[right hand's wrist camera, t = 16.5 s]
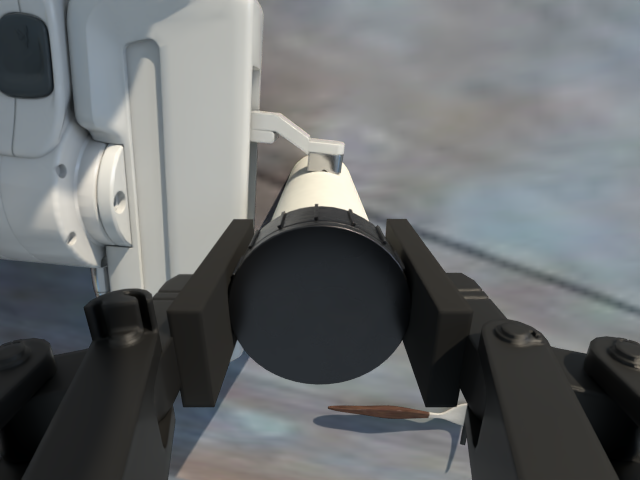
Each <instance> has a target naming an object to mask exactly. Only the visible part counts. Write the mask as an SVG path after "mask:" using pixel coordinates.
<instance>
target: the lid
mask: <svg viewBox="0 0 640 480" xmlns="http://www.w3.org/2000/svg"><path fill="white" fill-rule="evenodd" d="M405 271H406V269H405V267H404V265H403V263H402V261H401V259H400V257H399V255H398V253H397V251H396V250H395V251H393V249H392V247H391V245H390V244H389V242H388V240H387V239H386V237H385V236H384V235H383V233H382V231H381V229H380V227H379V226H378V225H377V226H376V227H375V226H374V225H373V224H372V223H370V222H369V221H367V220H366V219H365V218H363V217H361V216H359V215H357V214H355V213H353V211H352V210H351V209H349V210H348V211H347V210H344V209H340V208H335V207H327V206H318V204H315V206H311V207H305V208H299V209H296V210H293V211H289V212H287V213H286V212H285V211H283V212H282V213H281V215H280V216H279V217H277V218H275V219H274V220H272V221H270V222H269V223H268V224H267V225H266V226H264V227H263V228H262V229H261V230H260V231H259V230H257V231H256V232H255V234H254V236H253V238H252V240H251V242H250V244H249V246H248V248H247V251H246V253H245V255H244V256H241V258H240V260H239V262H238V264H237V266H236V268H235V270H234V272H233V274H232V277H233V280H232V283H231V286H230V290H229V296H228V306H229V316H230V323H231V326H232V329H233V332H234V334H235V336H236V338H237V340H238V342H239V343H240V345H241V346H242V348H243V349H244V350H245V351H246V353H247V354H248V355H249V356H250V357H251V358H252V359H253V360H254V361H255V362H257V363H258V364H259V365H261V366H262V367H263V368H265V369H266V370H268V371H270V372H272V373H274V374H275V375H278V376H280V377H283V378H285V379H288V380H292V381H295V382H300V383H306V384H333V383H340V382H344V381H348V380H351V379H354V378H357V377H360V376H362V375H364V374H366V373H368V372H370V371H372V370H373V369H375V368H376V367H378V366H379V365H380V364H382V363H383V362H384V361H385V360H387V359H388V358H389V357H390V355H391V354H392V353H393V352H394V351H395V350H396V348H397V347H398V346H399V344H400V343H401V341H402V339H403V337H404V336H405V334H406V331H407V328H408V325H409V322H410V314H411V304H412V299H411V291H410V287H409V283H408V280H407V278H406V276H405V273H404V272H405Z"/></svg>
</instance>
